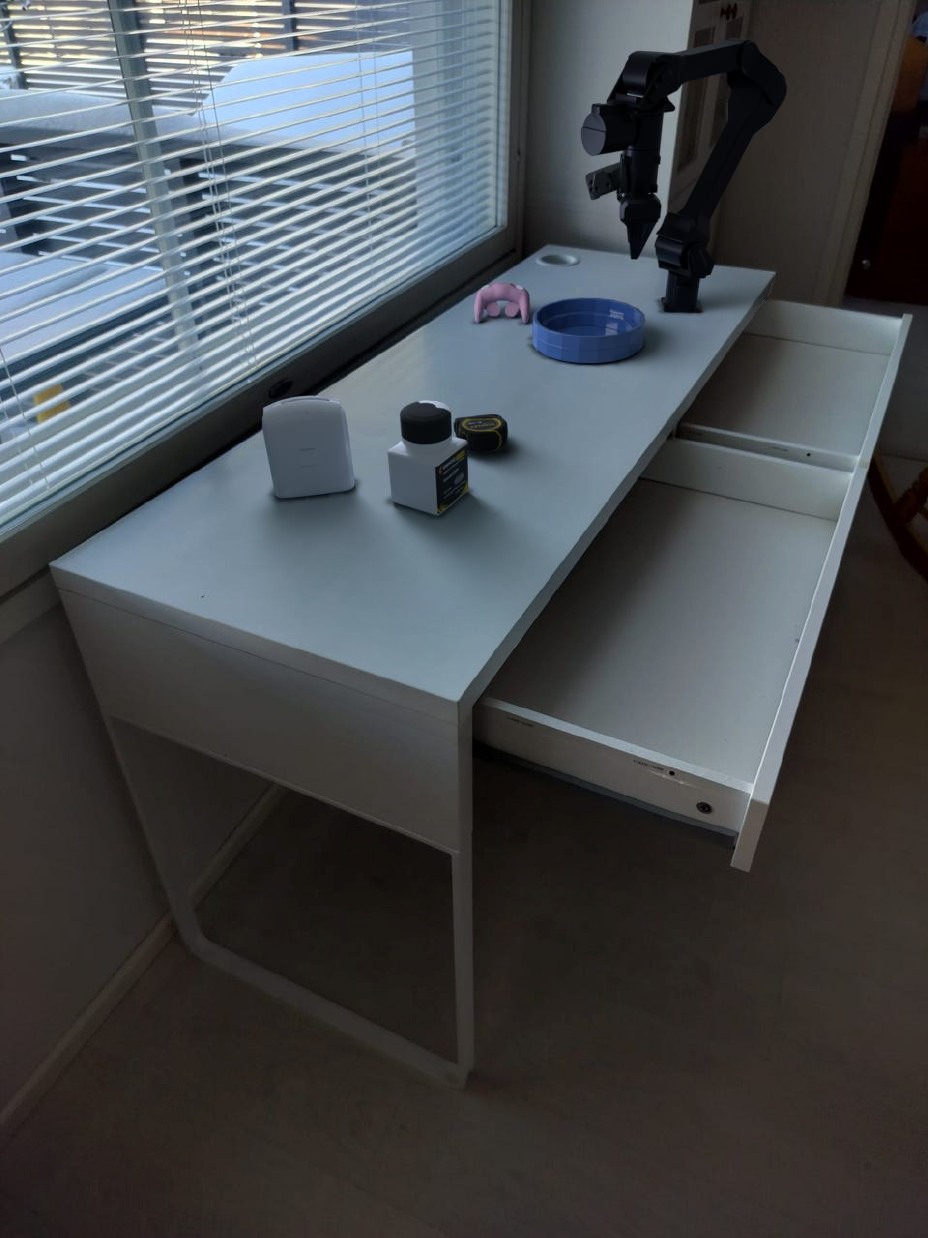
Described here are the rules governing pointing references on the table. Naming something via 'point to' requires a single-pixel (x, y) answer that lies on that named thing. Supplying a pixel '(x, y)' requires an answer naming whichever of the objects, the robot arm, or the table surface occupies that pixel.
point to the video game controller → (502, 292)
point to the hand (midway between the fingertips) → (632, 250)
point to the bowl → (588, 330)
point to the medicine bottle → (428, 459)
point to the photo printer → (308, 446)
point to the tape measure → (482, 432)
